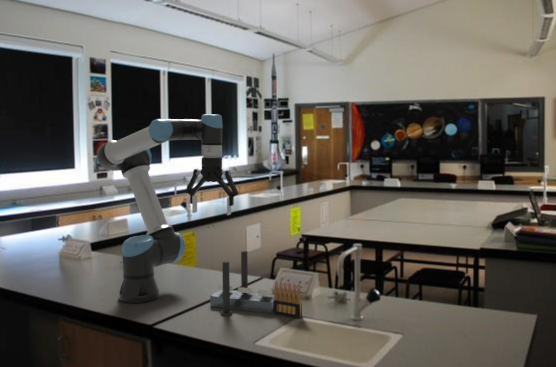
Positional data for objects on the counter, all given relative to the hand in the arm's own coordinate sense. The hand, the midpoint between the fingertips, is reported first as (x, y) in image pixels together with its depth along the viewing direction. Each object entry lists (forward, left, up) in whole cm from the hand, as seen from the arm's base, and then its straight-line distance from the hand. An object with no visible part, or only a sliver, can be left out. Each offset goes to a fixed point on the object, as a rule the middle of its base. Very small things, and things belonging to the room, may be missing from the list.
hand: (211, 213), depth 201 cm
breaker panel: (+14, -1, -34) cm, 36 cm away
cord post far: (+11, +6, -34) cm, 36 cm away
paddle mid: (+14, -1, -28) cm, 31 cm away
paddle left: (+6, -1, -28) cm, 28 cm away
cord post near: (+11, -11, -34) cm, 37 cm away
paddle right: (+22, -1, -28) cm, 35 cm away
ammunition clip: (+31, -6, -34) cm, 47 cm away
